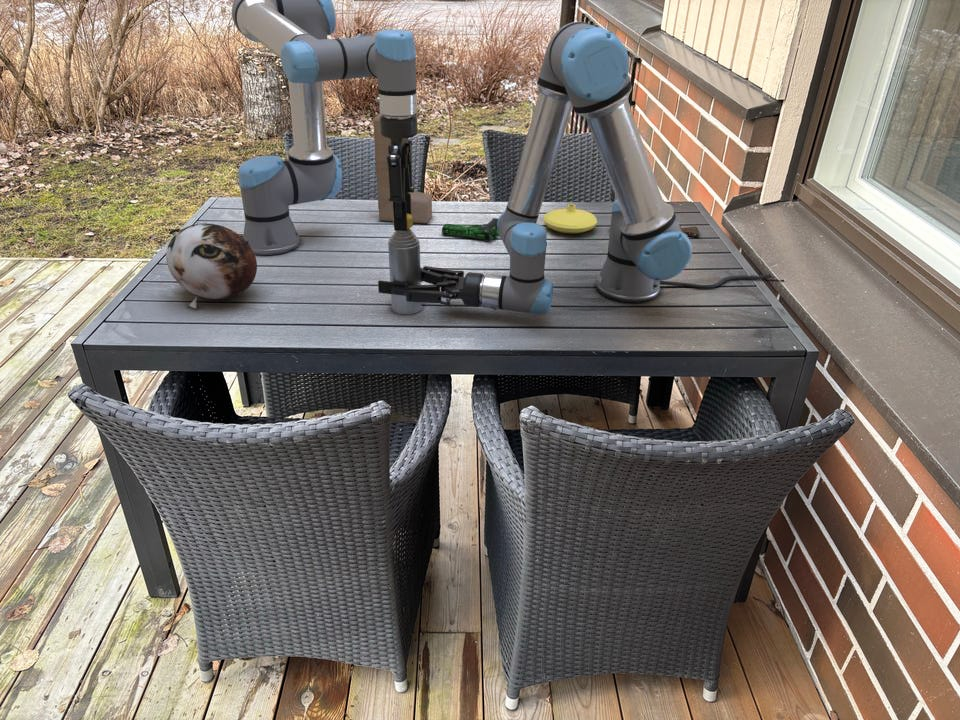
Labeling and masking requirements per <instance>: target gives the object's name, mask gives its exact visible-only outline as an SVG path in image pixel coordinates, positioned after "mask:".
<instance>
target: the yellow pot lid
mask: <svg viewBox="0 0 960 720" xmlns="http://www.w3.org/2000/svg"><path fill="white" fill-rule="evenodd" d="M543 222H544V225H545V226H546V227H548V228H550V229H551V230H554V231H556V232H559V233H564V234H580V233H584V232H585V233H586V232H587V231H591V230H592V229H594V228H596V226H597V223H598V219H597V217H596V215H595V214H593V213H591V212H589V211H587V210H584V209H578V208H576V205H575V204H571V203H570V204H567V208H557V209H552V210H549V211H548V212H547V213H545V214H544V216H543Z"/></svg>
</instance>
